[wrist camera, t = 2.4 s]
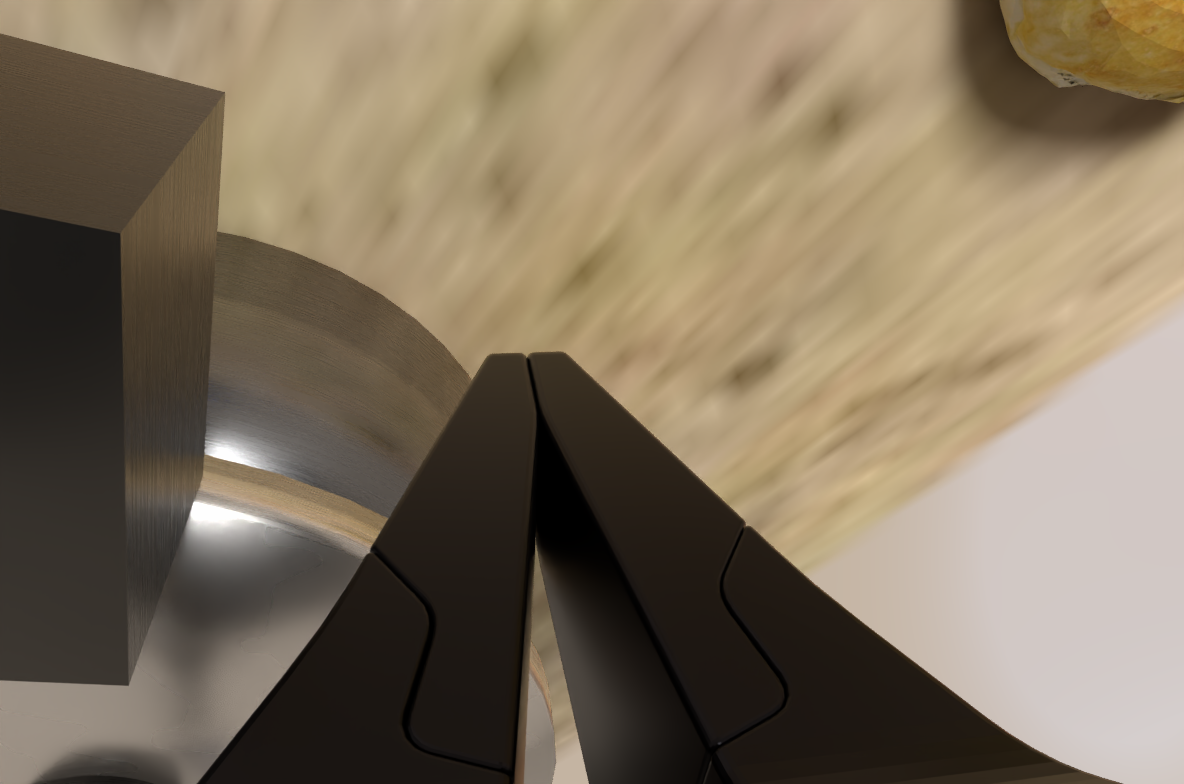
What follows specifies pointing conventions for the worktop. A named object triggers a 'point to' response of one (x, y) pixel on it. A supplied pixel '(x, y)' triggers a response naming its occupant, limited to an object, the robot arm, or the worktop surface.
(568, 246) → the worktop surface
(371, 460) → the cooker pot
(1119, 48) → the bread roll
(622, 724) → the robot arm
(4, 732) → the cooker lid
